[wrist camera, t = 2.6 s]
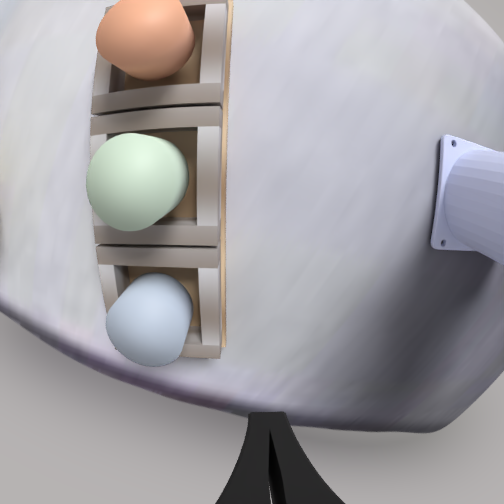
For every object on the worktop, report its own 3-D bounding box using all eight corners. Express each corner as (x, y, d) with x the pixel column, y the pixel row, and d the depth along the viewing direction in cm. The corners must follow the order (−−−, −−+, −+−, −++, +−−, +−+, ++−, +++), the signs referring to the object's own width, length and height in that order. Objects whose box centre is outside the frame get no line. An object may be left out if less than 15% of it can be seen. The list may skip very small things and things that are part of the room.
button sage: (190, 135, 13) (175, 129, 10) (189, 216, 14) (175, 231, 11) (114, 140, 13) (85, 138, 10) (116, 217, 14) (89, 231, 11)
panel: (123, 18, 13) (105, 0, 10) (233, 6, 13) (231, -18, 10) (128, 332, 19) (114, 356, 17) (226, 338, 20) (223, 366, 17)
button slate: (191, 273, 15) (179, 299, 12) (195, 336, 16) (187, 370, 13) (121, 270, 15) (99, 294, 12) (132, 331, 16) (114, 361, 13)
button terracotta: (198, 12, 11) (188, -17, 8) (192, 77, 12) (179, 58, 9) (126, 22, 11) (104, 0, 8) (117, 85, 12) (90, 72, 9)
